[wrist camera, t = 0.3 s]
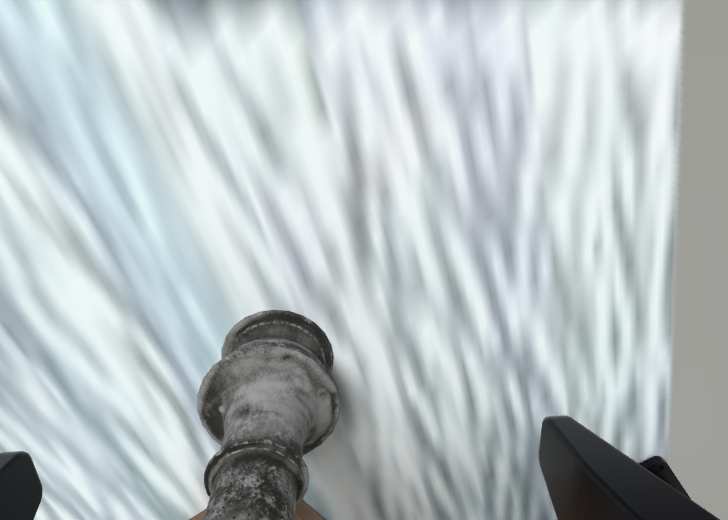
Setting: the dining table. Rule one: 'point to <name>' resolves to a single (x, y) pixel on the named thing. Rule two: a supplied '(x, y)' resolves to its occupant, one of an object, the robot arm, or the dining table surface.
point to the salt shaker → (266, 415)
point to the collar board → (303, 515)
